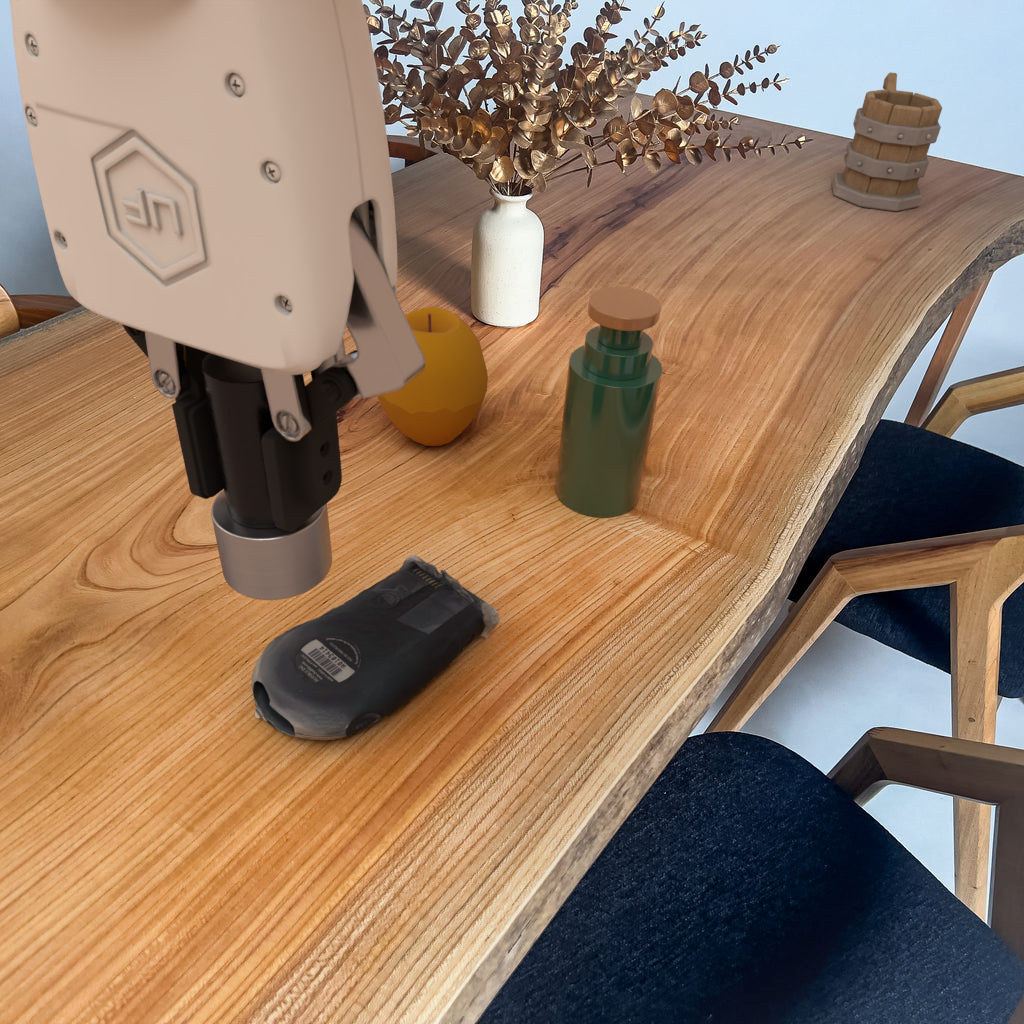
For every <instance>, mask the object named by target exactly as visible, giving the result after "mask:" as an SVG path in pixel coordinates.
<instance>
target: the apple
mask: <svg viewBox="0 0 1024 1024" xmlns="http://www.w3.org/2000/svg"><path fill="white" fill-rule="evenodd" d="M405 316H406V319H407V321H408V323H409V325H410V327H411V329H412V332H413V334H414V336H415V338H416V340H417V342H418V345H419V347H420V349H421V351H422V353H423V355H424V358H425V368H424V370H423V372H421V373H420V374H419V375H418V376H416V377H415V378H414V379H413V380H411V381H410V382H409V383H408V384H407V385H405V386H404V387H403V388H401V389H400V390H398V391H394V392H390V393H386V394H382V395H378V396H376V397H377V400H378V402H379V404H380V407H381V409H382V411H383V412H384V413H385V416H387V418H388V419H389V421H390V422H391V423H392V425H393V426H394V427H395V428H396V429H397V430H398V431H399V432H400V433H401V435H404V436H405V437H407V438H408V439H410V440H412V441H413V442H416V443H419V444H421V445H423V446H426V447H441V446H444V445H447V444H450V443H451V442H453V440H455V439H456V438H457V437H459V436H460V434H461V433H462V432H463V431H465V429H466V428H467V427H468V426H469V425H470V424H471V422H472V421H473V420H474V418H475V417H476V416H477V415H478V413H479V412H480V410H481V408H482V406H483V402H484V400H485V397H486V395H487V391H488V381H489V375H488V374H489V373H488V369H487V365H486V361H485V358H484V357H485V356H484V353H483V349H482V345H481V342H480V340H479V337H477V335H476V334H475V332H474V331H473V329H472V327H471V326H470V325H469V324H468V323H467V322H466V321H465V320H463V319H462V318H461V317H460V316H459V315H458V314H456V313H455V312H451V311H450V310H447V309H446V308H442V307H436V306H427V307H422V308H419V309H416V310H413V311H411V312H408V313H405Z"/></svg>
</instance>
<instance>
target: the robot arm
mask: <svg viewBox="0 0 1024 1024" xmlns="http://www.w3.org/2000/svg"><path fill="white" fill-rule="evenodd" d="M9 1H10V2H9V4H10V15H11V26H12V27H11V28H12V37H13V38H12V39H13V49H14V56H15V62H16V70H17V78H18V79H17V80H18V85H19V92H20V93H19V94H20V97H21V103H22V110H23V115H24V116H23V117H24V121H25V127H26V131H27V138H28V142H29V148H30V153H31V156H32V162H33V168H34V172H35V176H36V181H37V185H38V186H37V187H38V191H39V195H40V199H41V204H42V208H43V212H44V216H45V221H46V225H47V230H48V233H49V237H50V241H51V245H52V249H53V252H54V255H55V256H54V257H55V260H56V264H57V267H58V270H59V273H60V275H61V278H62V281H63V284H64V286H65V288H66V291H67V292H68V293H69V295H70V296H71V297H72V298H73V299H74V300H75V302H77V303H79V304H80V305H81V306H82V307H84V308H85V309H87V310H88V311H90V312H92V313H94V314H96V315H98V316H100V317H102V318H104V319H107V320H110V321H113V322H115V323H117V324H121V325H122V327H123V329H124V331H125V332H126V333H127V335H128V336H129V337H130V339H131V340H132V341H133V342H134V343H135V344H136V346H138V348H139V349H140V350H141V351H142V353H143V354H144V356H146V357H147V359H148V364H149V365H148V366H149V371H150V377H151V381H152V383H153V386H154V387H155V389H156V390H157V391H158V392H159V393H160V395H162V396H164V397H165V398H167V399H170V400H174V401H175V402H174V403H172V404H171V407H172V412H173V417H174V421H175V427H176V430H177V435H178V440H179V445H180V449H181V454H182V459H183V464H184V468H185V473H186V477H187V483H188V487H189V491H190V493H191V494H192V495H193V496H197V497H199V498H202V499H205V500H208V499H211V498H214V497H215V496H217V495H218V494H219V493H220V492H221V491H222V490H224V488H223V483H222V477H221V472H220V466H219V461H218V456H217V450H216V445H215V440H214V434H213V429H212V424H211V418H210V413H209V408H208V402H207V397H206V392H205V386H204V381H203V376H202V370H201V363H202V360H203V358H204V357H205V356H206V355H207V354H208V353H211V354H215V355H218V356H221V357H224V358H227V359H230V360H233V361H237V362H240V363H243V364H246V365H250V366H253V367H256V368H260V369H261V372H262V377H263V381H264V386H265V390H266V394H267V399H268V403H269V408H270V412H271V416H272V421H273V424H274V427H272V428H271V429H270V430H268V431H267V432H266V433H265V434H264V435H263V436H262V440H261V445H262V452H263V458H264V465H265V472H266V478H267V485H268V492H269V498H270V505H271V512H272V518H273V521H274V522H275V525H276V527H277V528H280V529H283V530H285V531H288V532H293V531H295V530H296V529H297V528H298V527H299V526H301V525H302V524H303V523H304V522H305V521H306V520H308V519H309V518H310V517H311V516H312V515H313V514H314V513H316V512H317V511H318V510H319V509H320V508H321V507H322V506H324V505H325V504H327V505H328V503H329V502H330V501H331V500H333V499H334V497H335V496H336V495H337V494H338V493H339V491H340V489H341V485H342V480H343V473H342V460H341V450H340V438H339V428H338V427H339V426H338V425H339V424H338V415H337V412H338V411H340V410H341V409H342V408H343V407H345V406H346V405H347V404H349V403H350V402H351V401H355V400H360V399H362V400H365V399H370V398H373V397H377V396H378V395H382V394H386V393H390V392H394V391H398V390H400V389H401V388H403V387H404V386H405V385H407V384H408V383H409V382H410V381H411V380H413V379H414V378H415V377H416V376H418V375H419V374H420V373H421V372H423V370H424V368H425V358H424V355H423V353H422V351H421V349H420V347H419V345H418V342H417V340H416V338H415V336H414V334H413V332H412V329H411V327H410V325H409V323H408V321H407V319H406V316H405V315H406V313H405V312H404V310H403V308H402V305H401V304H400V302H399V299H398V297H397V292H398V239H397V236H398V235H397V223H396V212H395V211H396V209H395V197H394V196H395V195H394V187H393V178H392V169H391V168H392V167H391V160H390V150H389V143H388V135H387V127H386V119H385V110H384V104H383V98H382V93H381V88H380V87H381V86H380V82H379V74H378V69H377V64H376V63H377V62H376V58H375V54H374V49H373V44H372V40H371V35H370V31H369V25H368V20H367V16H366V12H365V8H364V7H365V6H364V4H363V0H9ZM346 329H347V330H348V332H349V334H350V336H351V339H352V340H353V342H354V344H355V347H356V349H354V350H353V351H351V352H349V353H346V347H345V346H346V345H345V341H344V335H345V331H346ZM309 373H310V377H311V381H309V382H308V383H307V384H305V379H304V374H309Z"/></svg>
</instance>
